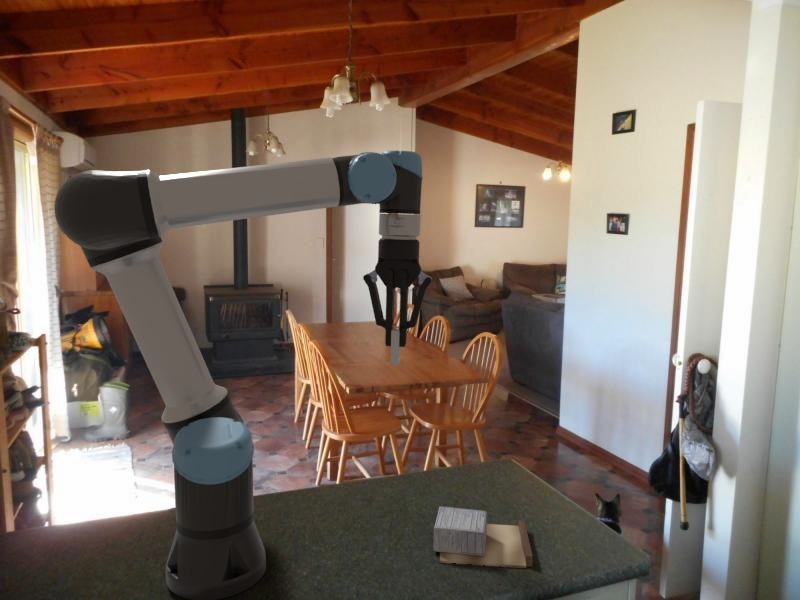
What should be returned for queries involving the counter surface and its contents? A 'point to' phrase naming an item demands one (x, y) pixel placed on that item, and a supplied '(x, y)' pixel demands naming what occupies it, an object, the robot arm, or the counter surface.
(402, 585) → the counter surface
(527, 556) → the stop rail
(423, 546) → the counter surface
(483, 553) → the medicine box
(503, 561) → the light wooden board
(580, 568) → the counter surface
